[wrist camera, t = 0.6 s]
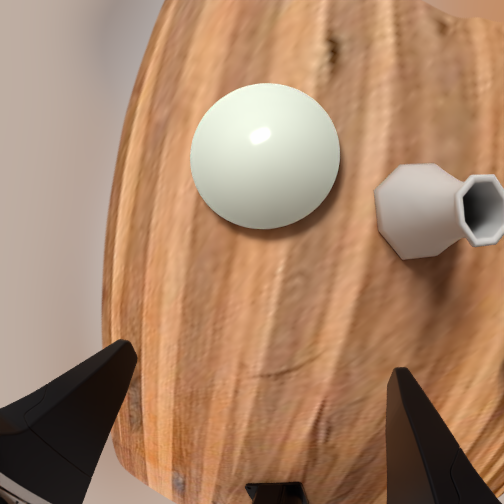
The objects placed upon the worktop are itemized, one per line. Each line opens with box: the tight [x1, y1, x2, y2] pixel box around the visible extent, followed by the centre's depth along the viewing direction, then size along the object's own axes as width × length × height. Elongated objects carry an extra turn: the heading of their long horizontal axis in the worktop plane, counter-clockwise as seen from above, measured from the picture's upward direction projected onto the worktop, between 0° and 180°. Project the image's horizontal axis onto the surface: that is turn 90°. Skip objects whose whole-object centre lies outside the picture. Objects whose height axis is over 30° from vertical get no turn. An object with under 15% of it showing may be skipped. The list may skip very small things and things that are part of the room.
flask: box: [374, 163, 504, 260], centre depth 14 cm, size 7×7×10 cm
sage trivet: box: [190, 83, 340, 229], centre depth 21 cm, size 11×11×1 cm
